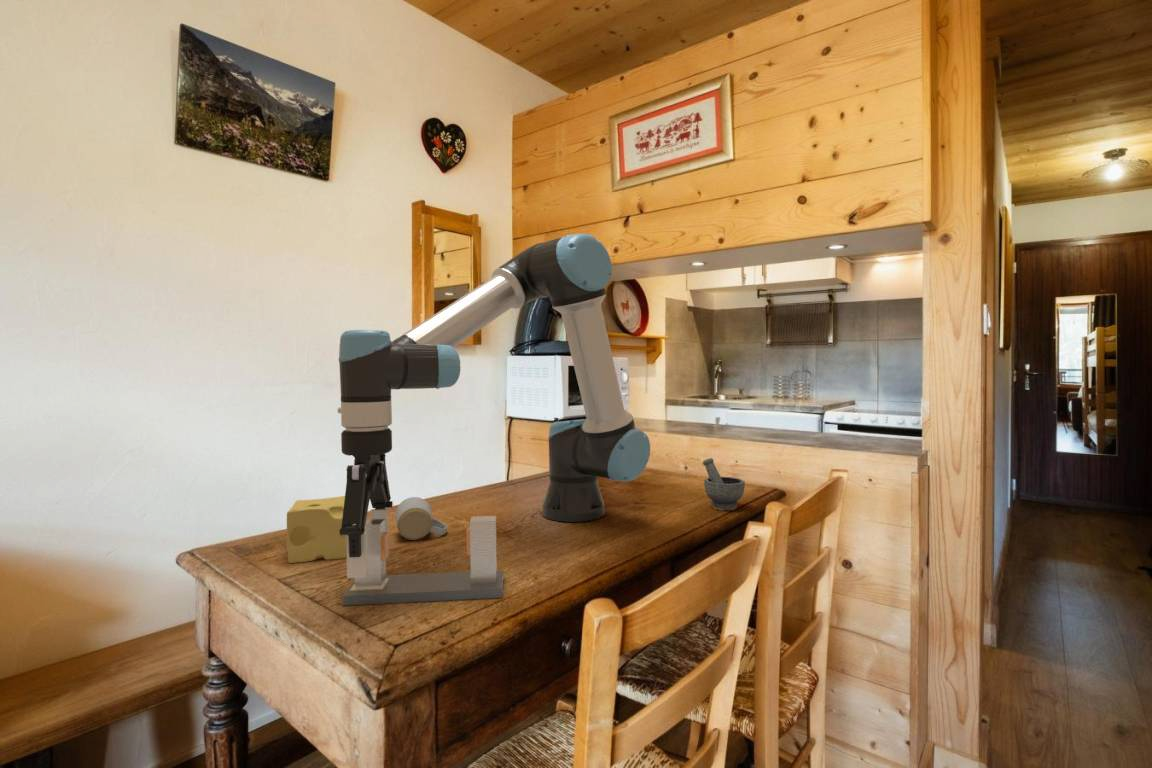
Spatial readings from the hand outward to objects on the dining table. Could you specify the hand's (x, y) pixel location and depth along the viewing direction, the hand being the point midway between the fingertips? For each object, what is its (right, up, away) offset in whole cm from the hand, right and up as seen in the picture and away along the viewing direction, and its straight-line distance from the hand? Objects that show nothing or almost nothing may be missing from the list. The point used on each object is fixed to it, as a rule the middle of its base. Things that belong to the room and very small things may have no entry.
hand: (369, 561), depth 90 cm
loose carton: (0, -4, 0) cm, 4 cm away
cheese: (-17, -5, +20) cm, 27 cm away
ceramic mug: (0, -5, +32) cm, 32 cm away
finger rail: (+9, -5, +1) cm, 10 cm away
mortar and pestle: (+70, -3, +54) cm, 88 cm away
